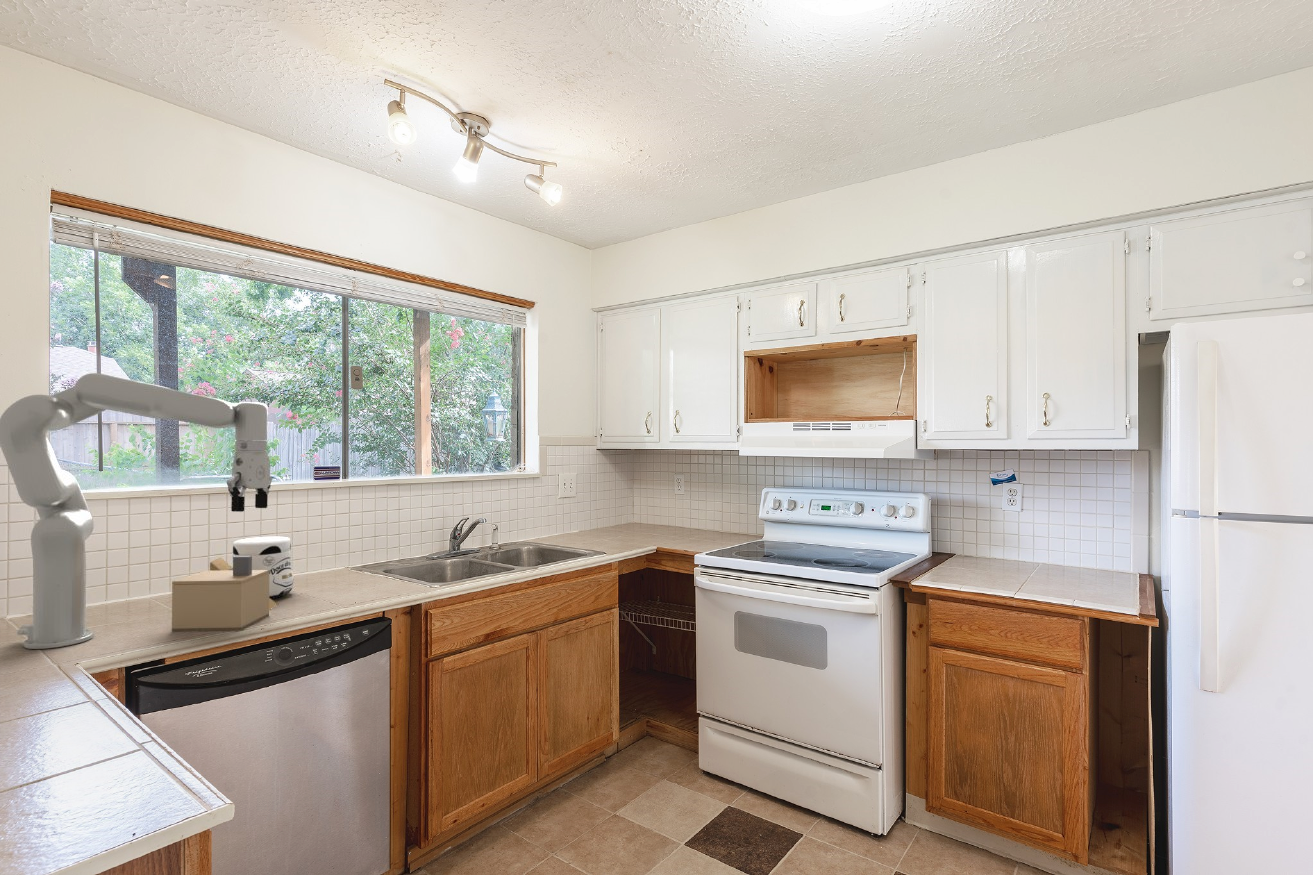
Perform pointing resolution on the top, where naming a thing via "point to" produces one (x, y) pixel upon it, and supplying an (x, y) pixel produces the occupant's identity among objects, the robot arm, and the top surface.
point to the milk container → (269, 560)
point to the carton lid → (226, 574)
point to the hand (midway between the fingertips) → (249, 509)
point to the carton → (219, 605)
